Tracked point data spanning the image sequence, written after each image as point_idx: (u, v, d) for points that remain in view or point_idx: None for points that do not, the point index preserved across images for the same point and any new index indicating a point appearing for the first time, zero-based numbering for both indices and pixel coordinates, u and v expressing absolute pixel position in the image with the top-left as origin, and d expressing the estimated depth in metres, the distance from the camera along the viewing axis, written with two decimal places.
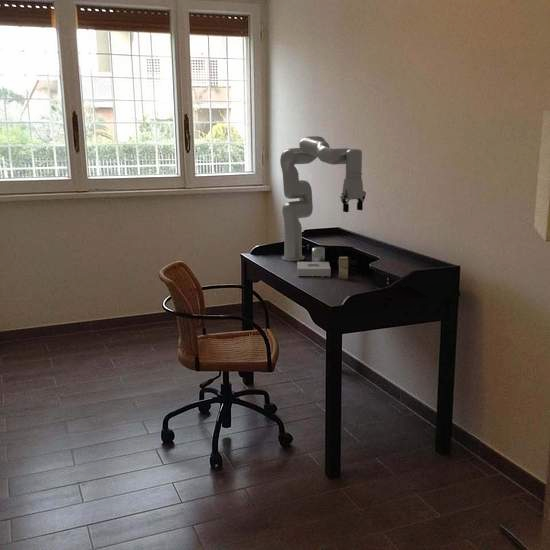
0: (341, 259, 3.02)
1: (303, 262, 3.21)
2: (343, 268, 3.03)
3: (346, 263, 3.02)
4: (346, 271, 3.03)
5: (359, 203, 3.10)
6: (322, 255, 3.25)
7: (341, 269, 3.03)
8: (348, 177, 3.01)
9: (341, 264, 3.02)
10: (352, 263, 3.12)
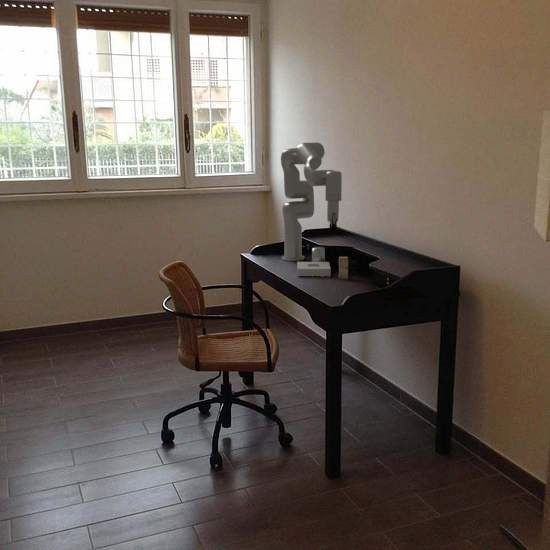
0: (341, 259, 3.02)
1: (303, 262, 3.21)
2: (343, 268, 3.03)
3: (346, 263, 3.02)
4: (346, 271, 3.03)
5: None
6: (322, 255, 3.25)
7: (341, 269, 3.03)
8: (334, 199, 2.97)
9: (341, 264, 3.02)
10: (352, 263, 3.12)
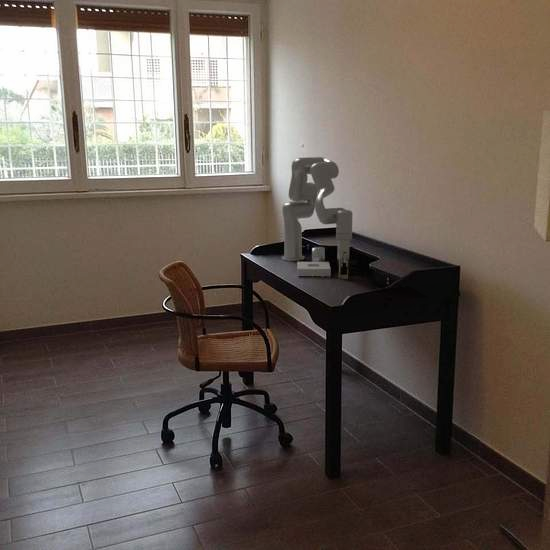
0: None
1: (303, 262, 3.21)
2: None
3: None
4: None
5: None
6: (322, 255, 3.25)
7: None
8: (345, 239, 2.98)
9: None
10: (352, 263, 3.12)
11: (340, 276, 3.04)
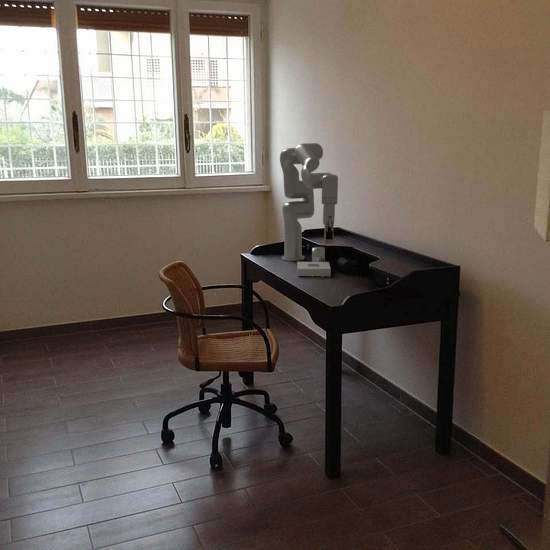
0: (327, 224, 3.03)
1: (303, 262, 3.21)
2: None
3: (332, 228, 3.03)
4: None
5: None
6: (322, 255, 3.25)
7: None
8: (330, 203, 2.99)
9: None
10: (352, 263, 3.12)
11: (325, 241, 3.05)
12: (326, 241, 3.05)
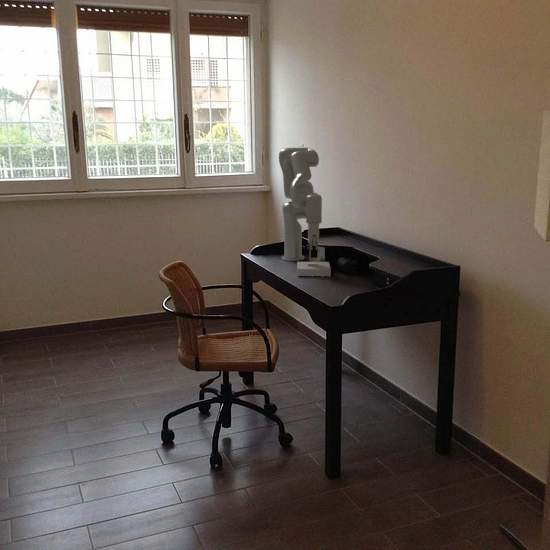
0: None
1: (303, 262, 3.21)
2: None
3: None
4: None
5: None
6: (322, 255, 3.25)
7: None
8: (314, 222, 3.06)
9: None
10: (352, 263, 3.12)
11: (310, 259, 3.12)
12: (311, 259, 3.12)
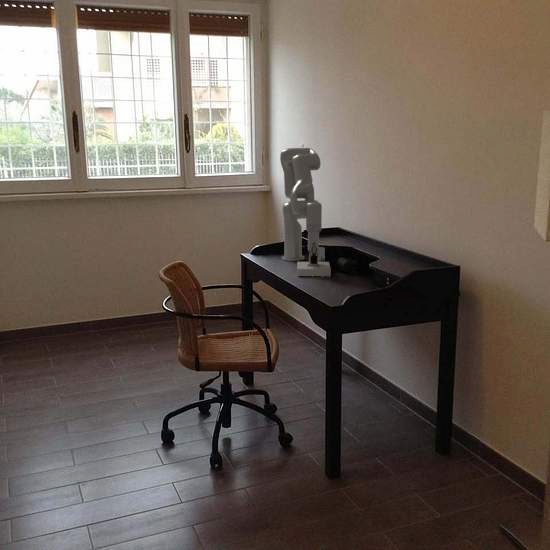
0: None
1: (303, 262, 3.21)
2: None
3: None
4: (316, 266, 3.13)
5: None
6: (322, 255, 3.25)
7: (311, 264, 3.13)
8: (314, 230, 3.07)
9: None
10: (352, 263, 3.12)
11: None
12: None
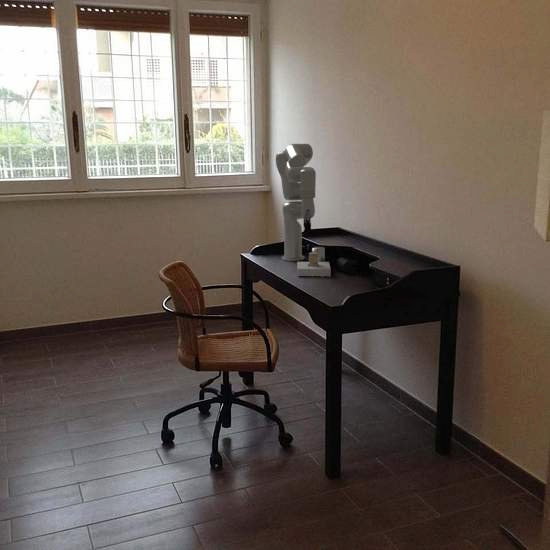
0: (311, 255, 3.12)
1: (303, 262, 3.21)
2: (313, 263, 3.13)
3: (316, 259, 3.12)
4: (316, 266, 3.13)
5: None
6: (322, 255, 3.25)
7: (311, 264, 3.13)
8: (308, 197, 3.06)
9: (311, 260, 3.12)
10: (352, 263, 3.12)
11: None
12: None
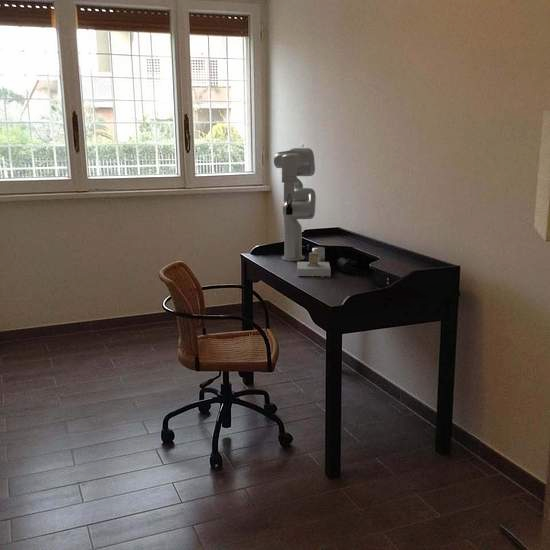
0: (311, 255, 3.12)
1: (303, 262, 3.21)
2: (313, 264, 3.13)
3: (316, 259, 3.12)
4: (316, 266, 3.13)
5: None
6: (322, 255, 3.25)
7: (311, 264, 3.13)
8: (289, 181, 3.14)
9: (311, 260, 3.12)
10: (352, 263, 3.12)
11: None
12: None
